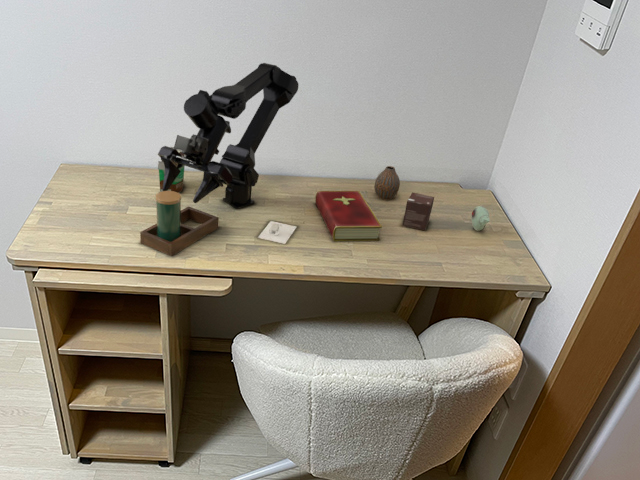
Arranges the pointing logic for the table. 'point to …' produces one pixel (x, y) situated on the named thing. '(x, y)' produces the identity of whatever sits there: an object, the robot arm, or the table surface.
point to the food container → (178, 183)
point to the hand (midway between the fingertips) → (178, 196)
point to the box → (418, 211)
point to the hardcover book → (347, 216)
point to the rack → (187, 233)
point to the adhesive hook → (277, 232)
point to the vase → (387, 183)
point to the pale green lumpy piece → (480, 217)
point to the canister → (168, 215)
